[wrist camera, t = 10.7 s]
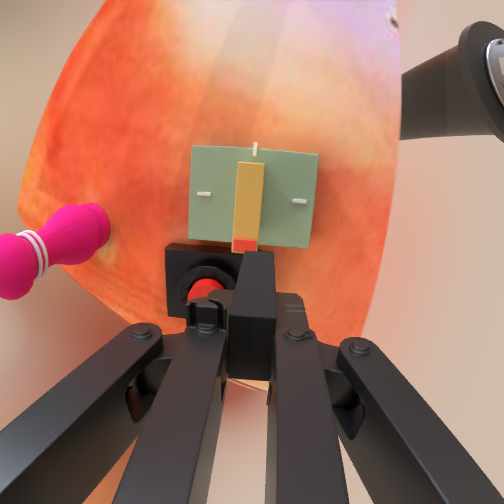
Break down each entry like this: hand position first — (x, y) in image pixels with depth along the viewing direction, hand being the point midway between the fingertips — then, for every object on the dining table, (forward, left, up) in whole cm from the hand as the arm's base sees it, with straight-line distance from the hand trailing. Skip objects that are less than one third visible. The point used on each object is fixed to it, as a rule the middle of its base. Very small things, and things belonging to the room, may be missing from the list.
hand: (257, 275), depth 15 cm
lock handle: (+1, -2, -15) cm, 15 cm away
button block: (+5, +9, -18) cm, 21 cm away
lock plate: (+1, -2, -18) cm, 18 cm away
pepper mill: (+22, +3, -18) cm, 29 cm away
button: (+5, +9, -15) cm, 18 cm away
